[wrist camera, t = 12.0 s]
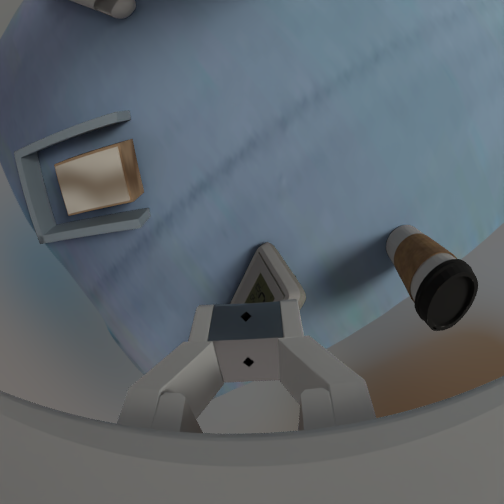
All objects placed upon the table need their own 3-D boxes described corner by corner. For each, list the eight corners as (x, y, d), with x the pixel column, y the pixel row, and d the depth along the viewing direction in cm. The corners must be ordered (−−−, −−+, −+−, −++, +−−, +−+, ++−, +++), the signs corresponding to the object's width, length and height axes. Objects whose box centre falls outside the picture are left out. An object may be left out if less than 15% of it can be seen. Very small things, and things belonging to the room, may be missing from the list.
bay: (30, 146, 32) (13, 152, 28) (129, 110, 31) (116, 111, 27) (53, 232, 39) (40, 244, 35) (150, 216, 38) (140, 228, 34)
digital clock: (266, 232, 39) (271, 276, 29) (318, 266, 41) (334, 314, 32) (205, 311, 45) (194, 362, 36) (252, 335, 47) (252, 386, 38)
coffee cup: (367, 254, 40) (409, 322, 27) (399, 206, 37) (459, 258, 23) (404, 275, 42) (448, 339, 29) (435, 232, 38) (492, 286, 25)
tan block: (74, 156, 33) (52, 165, 29) (135, 137, 33) (118, 143, 28) (86, 202, 36) (67, 216, 32) (147, 189, 36) (132, 202, 31)
